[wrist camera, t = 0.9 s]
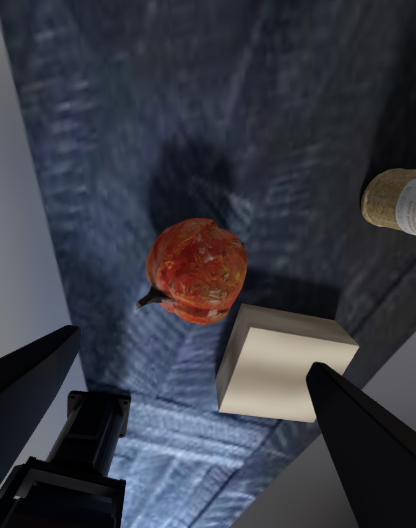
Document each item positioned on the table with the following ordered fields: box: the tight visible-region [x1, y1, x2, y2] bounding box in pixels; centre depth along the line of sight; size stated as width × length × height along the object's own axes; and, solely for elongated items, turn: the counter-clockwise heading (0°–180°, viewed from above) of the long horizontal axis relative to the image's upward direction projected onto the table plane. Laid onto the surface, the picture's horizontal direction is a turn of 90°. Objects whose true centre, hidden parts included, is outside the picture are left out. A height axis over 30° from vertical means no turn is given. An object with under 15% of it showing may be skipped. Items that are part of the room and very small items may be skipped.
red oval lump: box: [136, 218, 247, 325], centre depth 16 cm, size 7×7×10 cm
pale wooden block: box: [216, 303, 359, 423], centre depth 22 cm, size 10×10×4 cm
